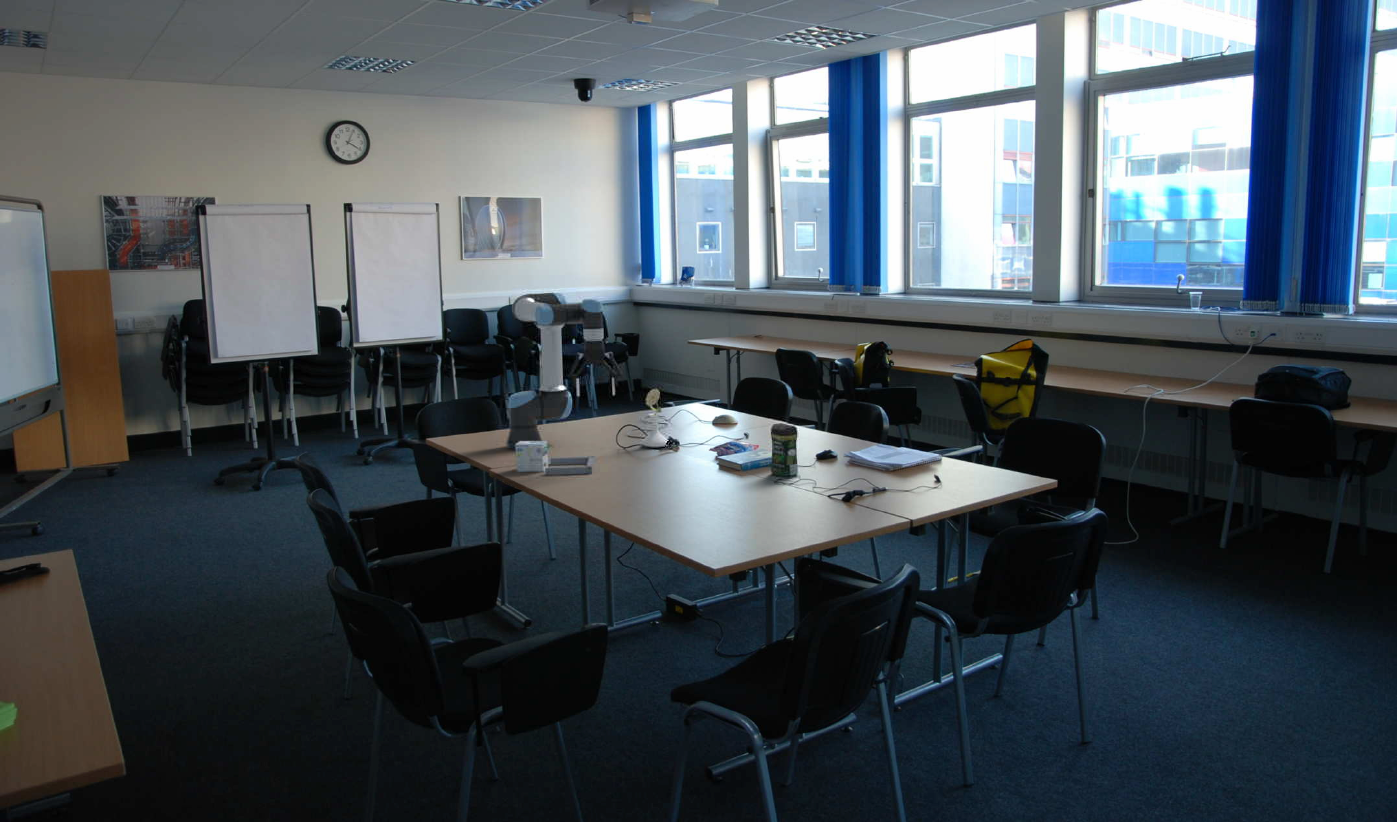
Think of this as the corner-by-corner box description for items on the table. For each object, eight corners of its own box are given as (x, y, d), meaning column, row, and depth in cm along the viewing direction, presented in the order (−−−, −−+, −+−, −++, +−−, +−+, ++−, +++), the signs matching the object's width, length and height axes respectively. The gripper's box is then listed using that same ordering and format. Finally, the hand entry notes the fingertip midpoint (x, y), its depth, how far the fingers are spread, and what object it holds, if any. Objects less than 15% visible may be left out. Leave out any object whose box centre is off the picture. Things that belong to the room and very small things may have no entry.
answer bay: (551, 463, 378) (550, 457, 378) (594, 462, 379) (594, 456, 378) (545, 475, 358) (545, 468, 358) (591, 473, 359) (591, 467, 359)
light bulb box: (548, 468, 371) (547, 440, 369) (544, 472, 364) (542, 443, 362) (521, 468, 372) (519, 440, 370) (516, 471, 365) (514, 443, 363)
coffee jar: (767, 474, 352) (766, 423, 349) (784, 470, 356) (783, 421, 353) (784, 478, 344) (784, 427, 341) (801, 475, 348) (801, 424, 346)
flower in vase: (639, 445, 412) (637, 386, 408) (665, 443, 415) (663, 385, 411) (646, 450, 400) (644, 390, 396) (673, 448, 403) (671, 389, 399)
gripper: (559, 341, 364) (562, 397, 367) (626, 339, 365) (628, 395, 368) (561, 340, 371) (564, 394, 375) (626, 338, 372) (628, 393, 376)
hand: (595, 395), depth 372 cm, fingers open, 13 cm apart
